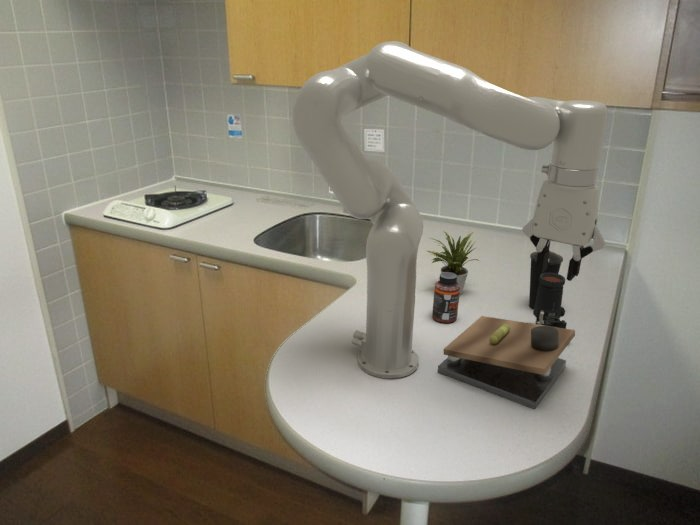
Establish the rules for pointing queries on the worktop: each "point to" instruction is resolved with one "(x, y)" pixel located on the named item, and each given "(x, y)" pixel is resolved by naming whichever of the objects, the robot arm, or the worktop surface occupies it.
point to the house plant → (455, 258)
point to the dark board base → (503, 379)
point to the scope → (550, 301)
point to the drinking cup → (552, 267)
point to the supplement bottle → (446, 298)
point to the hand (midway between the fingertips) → (556, 273)
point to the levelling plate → (511, 344)
